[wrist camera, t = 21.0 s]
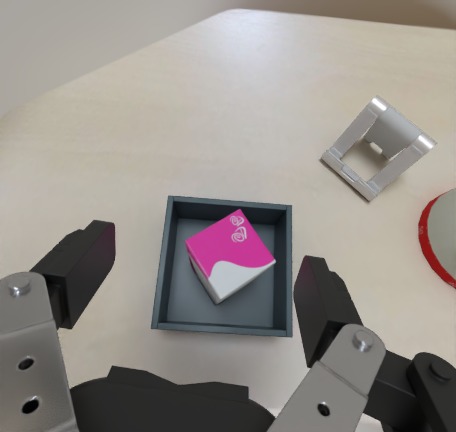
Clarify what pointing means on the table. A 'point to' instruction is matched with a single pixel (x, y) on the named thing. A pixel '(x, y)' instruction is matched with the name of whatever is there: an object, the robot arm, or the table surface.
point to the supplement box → (228, 256)
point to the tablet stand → (380, 145)
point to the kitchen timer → (440, 235)
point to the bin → (241, 300)
